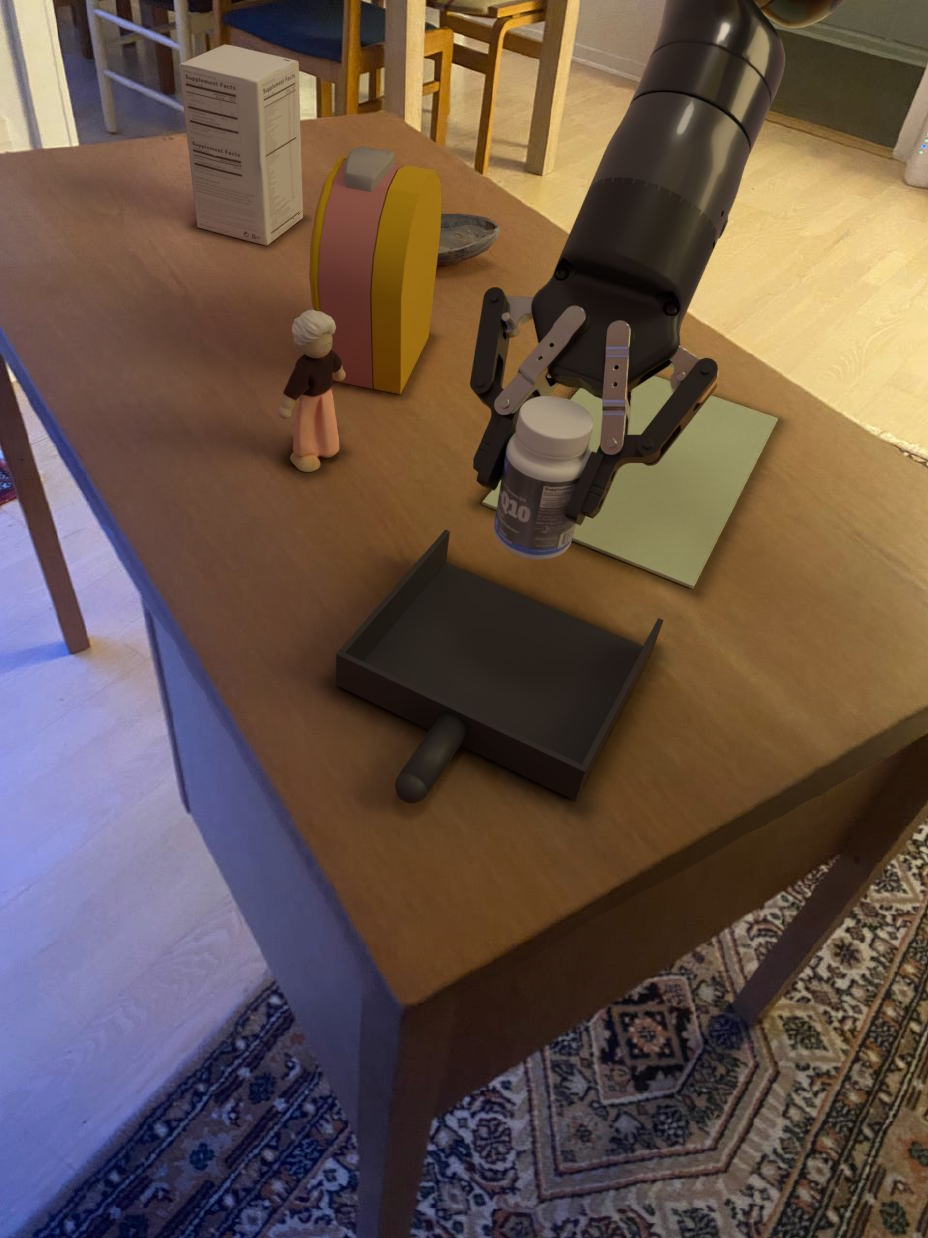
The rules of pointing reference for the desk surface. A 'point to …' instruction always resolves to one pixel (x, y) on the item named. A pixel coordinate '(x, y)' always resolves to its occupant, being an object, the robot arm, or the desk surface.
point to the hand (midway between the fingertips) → (529, 502)
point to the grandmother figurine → (313, 391)
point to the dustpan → (490, 676)
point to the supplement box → (244, 141)
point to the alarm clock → (376, 264)
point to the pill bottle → (542, 477)
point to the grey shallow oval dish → (465, 237)
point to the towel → (672, 485)
